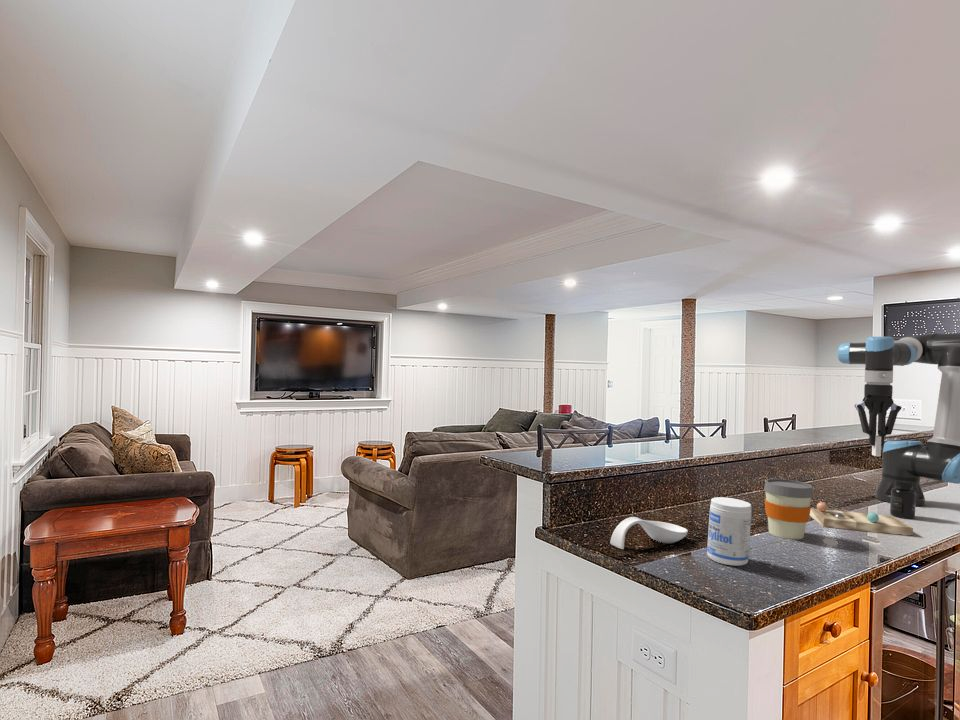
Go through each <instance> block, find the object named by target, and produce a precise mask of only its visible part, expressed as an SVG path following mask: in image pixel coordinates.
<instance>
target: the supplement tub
mask: <svg viewBox="0 0 960 720" xmlns="http://www.w3.org/2000/svg"><path fill="white" fill-rule="evenodd" d="M752 511H753V510H752V504H751V503H750V502H747V501H745V500H741V499H737V498H733V497H723V496H719V497H718V496H716V497H711V500H710V507H709V517H708V518H709V519H708V531H707V543H706V544H707V546H706V549H707V550H706V555H707V557H708V558H709V559H710V560H712V561H714V562H716V563H719V564H721V565H728V566H731V567H733V566H734V567H736V566H737V567H742V566H745V565H746V564H747V563H748V562H749V558H750V557H749V555H750V542H751V541H750V539H751V527H752V526H751V525H752Z"/></svg>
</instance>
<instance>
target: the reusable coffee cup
mask: <svg viewBox="0 0 960 720" xmlns="http://www.w3.org/2000/svg"><path fill="white" fill-rule="evenodd" d="M763 491H764V492H765V498H764V507H765V509H764V510H765V515H766V517H767V524H768V525H767V526H768V532H769V534H771V535H772V536H775V537H777V538H782V539H789V540H802V539H804V537H805V531H806V527H807V523H808V522H809V520H810V517H811V516H810V510H811V508H812V504H811V502H812V498H813V496H814V492H813V485H811V484H809V483H807V482H803V481H798V480H791V479H787V478H786V479H784V478H767V479H765V482H764V488H763Z"/></svg>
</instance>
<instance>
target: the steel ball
mask: <svg viewBox="0 0 960 720" xmlns="http://www.w3.org/2000/svg"><path fill="white" fill-rule="evenodd" d="M834 516H836V517H845V516H844V515H843V514H841V513H836V514H835V515H834Z"/></svg>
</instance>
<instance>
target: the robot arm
mask: <svg viewBox="0 0 960 720" xmlns="http://www.w3.org/2000/svg"><path fill="white" fill-rule="evenodd" d="M865 341H866V342H847V343H846V342H843V343H841V344H840V345H839V346H838V348H837V353H836V354H837V359H838V361H839V362H840V363H842V364H843V365H844V364H845V365H846V364H847V365H865V367H864V382H865V384H864V386H863V387H864V389H863V393H864V395H863V396H864V397H863V399H862V401H861V402H859V403H855V404H854V408H855V409H856V411H857V413H858V418H859V421H860V422H859V423H860V424H861V425H860V427H861V430H862V433H864V434H867V435H868V436H869V437H868V438H869V439H868V440H869V441H868V443H869V446H871V455H872V456H873V457H881V456H882V469H881V480H880V481H879V484H878V486H877V488H876V490H875V493H874V495H875V496H874V497H875V498H876V500H877V499H878V500H879V501H883V502H887V503H890V504H891V490H892V489H893V488H895V487H896V486H895V480H904V481H910V482H913V488H912V490H913V491H915V493H916V506H915V507H922V506H925V505H926V499H925V495H924V493H923V492H924V491H923V489H922V486H921V478H922V479H929V480H933V481H937V482H943V483H950V484H955V485H956V484H960V332H956V333H955V332H952V333H925V334H919V335H918V334H917V335H913V336H905V337H902V338H900V339H898V340H897V339H896V340H895V339H894V337H892V336H869V337H867V338H866V340H865ZM913 363H916V364H917V363H919V364H928V365H937V369H938V370H939V371H940V372H941V378H940V384H939V391H938V392H939V393H938V399H937V407H936V413H935V420H934V426H933V427H934V428H933V434H932V437H931V438H929V439H928V440H926V444H925V445H924V444H923V442H922V441H920V440H887V441H885V437H886V436H888V435H891V434H892V433H893V430H894V427H895V423H896V420H897V417H898V414H899V412H900V411H901V410H902V409H903V408H902V406H901V405H898V404H896V403H894V399H893V391H894V390H893V385H892V383H893V382H894V380H893V379H894V366H900V367H903V366H907V365H908V366H909V365H911V364H913ZM865 409H867V410H868V418H867V414H866V411H865ZM889 409H890V411H889V413H887V412H888V410H889ZM887 414H888V417H887ZM886 418H887V420H886ZM882 447H883V448H882ZM881 454H882V455H881Z"/></svg>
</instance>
